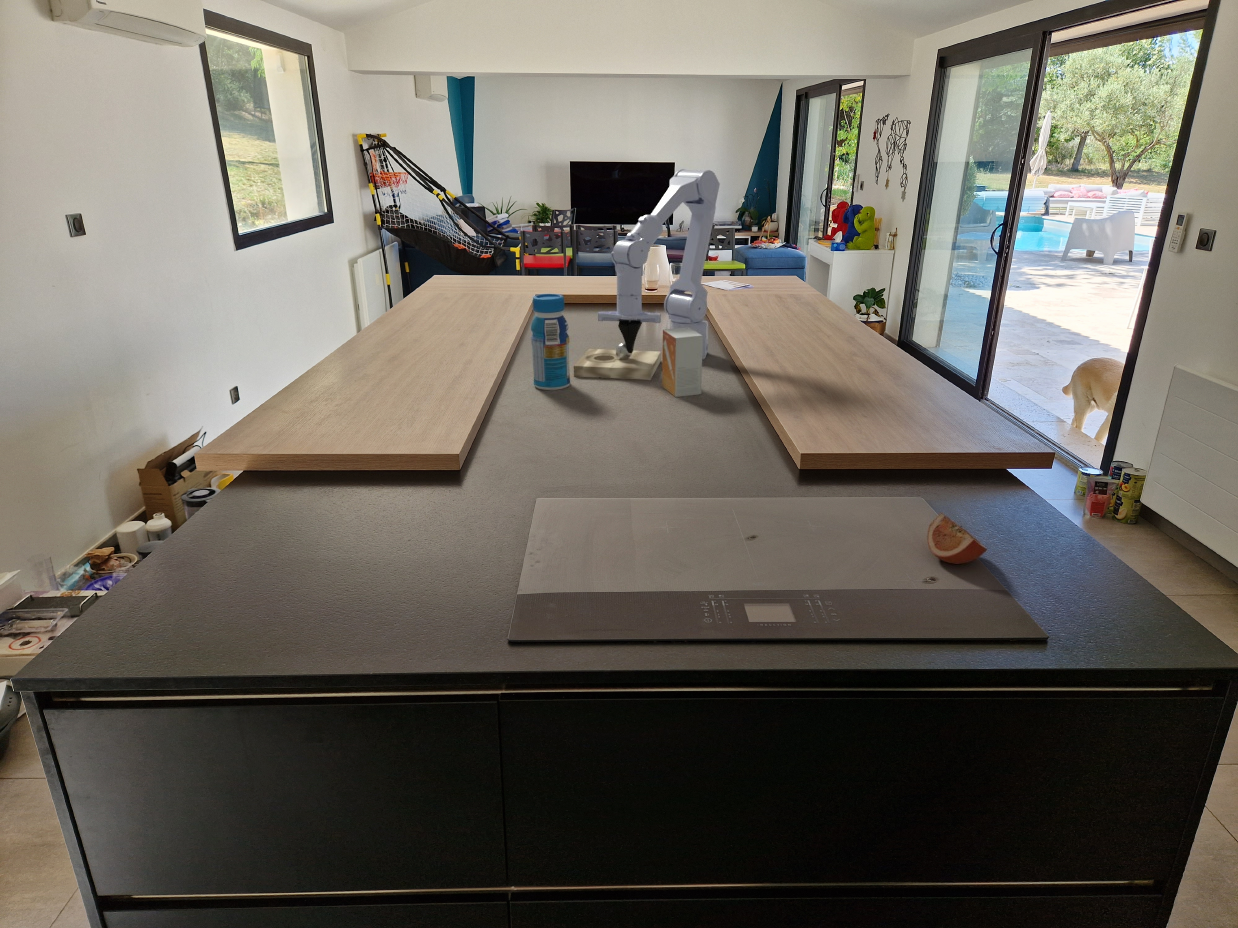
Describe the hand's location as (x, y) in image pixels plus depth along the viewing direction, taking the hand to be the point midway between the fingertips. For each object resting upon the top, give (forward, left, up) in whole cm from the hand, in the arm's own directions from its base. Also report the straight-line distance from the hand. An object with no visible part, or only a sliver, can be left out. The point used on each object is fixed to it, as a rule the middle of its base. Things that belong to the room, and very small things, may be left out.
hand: (629, 352), depth 192 cm
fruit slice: (-59, +82, -5) cm, 102 cm away
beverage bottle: (+15, +15, -5) cm, 22 cm away
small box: (-14, +14, -5) cm, 21 cm away
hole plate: (+3, -1, -4) cm, 5 cm away
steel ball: (+1, 0, 0) cm, 1 cm away
